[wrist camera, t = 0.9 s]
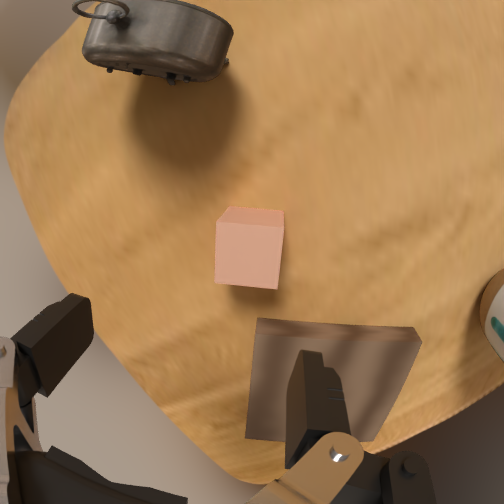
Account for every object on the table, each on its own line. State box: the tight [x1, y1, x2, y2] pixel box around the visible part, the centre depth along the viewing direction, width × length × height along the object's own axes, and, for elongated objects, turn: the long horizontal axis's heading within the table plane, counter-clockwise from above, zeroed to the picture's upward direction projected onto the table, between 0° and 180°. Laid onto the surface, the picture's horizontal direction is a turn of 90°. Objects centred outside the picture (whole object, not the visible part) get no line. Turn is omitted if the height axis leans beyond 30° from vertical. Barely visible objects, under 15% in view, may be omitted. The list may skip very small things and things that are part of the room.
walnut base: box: [245, 318, 422, 442], centre depth 33 cm, size 18×18×3 cm
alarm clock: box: [72, 0, 234, 85], centre depth 16 cm, size 11×5×16 cm, turn 73°
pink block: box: [215, 206, 284, 289], centre depth 26 cm, size 5×5×6 cm
